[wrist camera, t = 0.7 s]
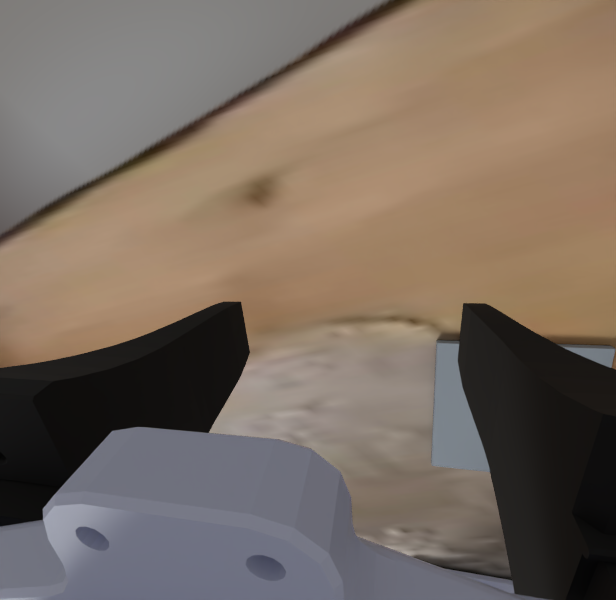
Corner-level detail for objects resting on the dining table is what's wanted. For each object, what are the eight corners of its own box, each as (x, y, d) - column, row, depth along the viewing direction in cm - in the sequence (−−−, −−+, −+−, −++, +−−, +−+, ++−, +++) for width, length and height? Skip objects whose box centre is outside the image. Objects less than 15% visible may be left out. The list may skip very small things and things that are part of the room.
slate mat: (583, 477, 23) (587, 482, 22) (431, 461, 25) (431, 465, 24) (611, 345, 20) (615, 349, 19) (436, 340, 22) (437, 343, 22)
